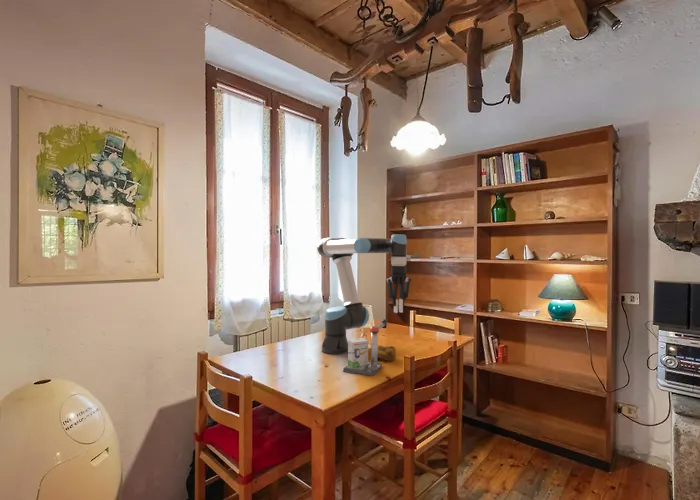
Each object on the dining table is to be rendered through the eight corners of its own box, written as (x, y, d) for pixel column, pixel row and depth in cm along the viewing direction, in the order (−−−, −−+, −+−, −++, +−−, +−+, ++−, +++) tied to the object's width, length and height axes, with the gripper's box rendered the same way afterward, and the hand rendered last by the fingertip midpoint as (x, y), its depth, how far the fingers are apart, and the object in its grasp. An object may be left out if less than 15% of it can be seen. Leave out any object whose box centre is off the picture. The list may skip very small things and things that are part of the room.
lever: (369, 334, 170) (369, 325, 170) (381, 326, 187) (381, 318, 187) (377, 335, 169) (377, 326, 169) (388, 327, 185) (388, 319, 185)
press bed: (343, 371, 170) (343, 332, 170) (354, 362, 183) (355, 326, 183) (373, 376, 164) (374, 336, 164) (383, 366, 177) (383, 329, 177)
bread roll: (369, 360, 187) (369, 344, 187) (374, 355, 196) (375, 340, 196) (394, 363, 182) (394, 347, 182) (398, 358, 192) (399, 342, 191)
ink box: (363, 362, 179) (363, 337, 179) (368, 365, 174) (368, 340, 174) (347, 364, 175) (347, 339, 175) (352, 367, 170) (352, 342, 170)
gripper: (408, 264, 192) (407, 310, 192) (381, 265, 186) (381, 312, 187) (415, 265, 185) (415, 312, 186) (388, 265, 180) (388, 314, 180)
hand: (398, 312), depth 186 cm, fingers open, 2 cm apart
